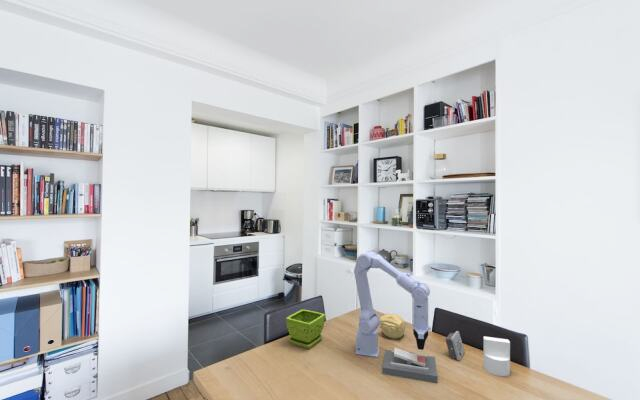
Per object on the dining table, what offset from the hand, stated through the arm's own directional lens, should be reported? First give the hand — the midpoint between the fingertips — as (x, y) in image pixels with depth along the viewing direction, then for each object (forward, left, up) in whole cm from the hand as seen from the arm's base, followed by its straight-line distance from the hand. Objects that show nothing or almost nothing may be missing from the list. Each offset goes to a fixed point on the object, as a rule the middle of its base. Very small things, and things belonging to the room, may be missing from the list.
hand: (420, 348), depth 119 cm
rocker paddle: (-4, -2, -3) cm, 6 cm away
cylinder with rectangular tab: (+29, +7, -8) cm, 31 cm away
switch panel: (-4, -2, -8) cm, 9 cm away
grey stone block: (+15, +14, -8) cm, 22 cm away
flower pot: (-51, +6, -8) cm, 52 cm away
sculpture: (-12, +25, -8) cm, 29 cm away
